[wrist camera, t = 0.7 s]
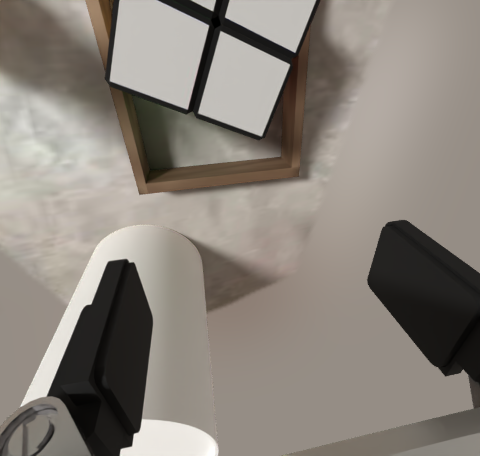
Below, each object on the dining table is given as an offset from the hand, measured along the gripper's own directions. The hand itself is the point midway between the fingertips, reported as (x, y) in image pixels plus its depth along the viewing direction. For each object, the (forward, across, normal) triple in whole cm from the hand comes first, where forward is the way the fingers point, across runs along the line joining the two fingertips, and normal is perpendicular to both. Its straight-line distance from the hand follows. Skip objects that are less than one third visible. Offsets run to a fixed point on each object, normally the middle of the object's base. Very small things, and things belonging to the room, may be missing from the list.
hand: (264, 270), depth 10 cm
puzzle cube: (+21, 0, -8) cm, 22 cm away
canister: (+21, +10, +16) cm, 28 cm away
